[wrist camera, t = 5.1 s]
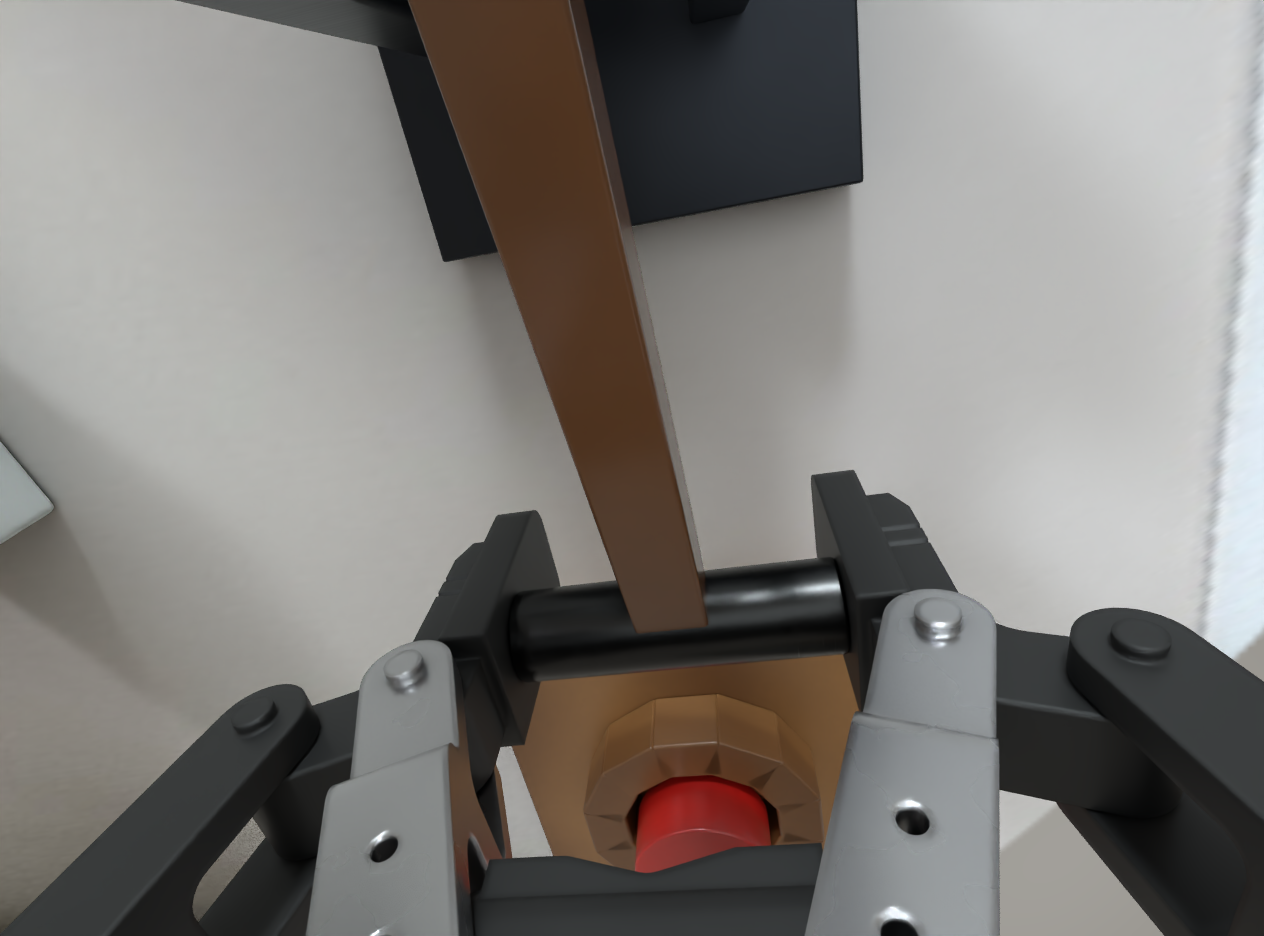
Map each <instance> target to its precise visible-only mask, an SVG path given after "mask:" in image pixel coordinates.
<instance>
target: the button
mask: <svg viewBox="0 0 1264 936" xmlns="http://www.w3.org/2000/svg"><path fill="white" fill-rule="evenodd" d="M768 845H771V839H770V830H769V821H768V812H767V809H766V806H765V804H764V802H763V800H762V799H761V797H760V796H759V795H758V793H757V792H756V791H755V790H753V789H752V788H751V787H750V786H747V785H743V784H740V783H737V782H734V781H730V780H727V779H724V778H720V777H717V776H714V775H701V776H686V777H671V778H669V779H667V780H665V781H663V782H661V783H659V784H657V785H656V786H654V787H652V788H650V789H649V790H648V791H647V792H646V794H645V795H644V797H643V798H642V801H641V803H640V807H639V815H638V829H637V842H636V856H635V871H637V872H642V873H652V872H656V871H660V870H663V869H666V868H670V867H673V866H676V865H679V864H682V863H686V862H689V861H692V860H695V859H699V858H702V857H705V856H708V855H711V854H715V853H718V852H721V851H724V850H728V849H731V848H734V847H748V846H768Z"/></svg>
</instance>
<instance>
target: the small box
mask: <svg viewBox="0 0 1264 936" xmlns="http://www.w3.org/2000/svg"><path fill="white" fill-rule="evenodd" d="M53 508H54V507H53V504H52V503H51V501H50V500H49V499H48V498H47V497H46V495H45V494H44V493H43V492H42V491H41V489H40V488H39V487H38V486H37V485H36V484H35V482H34V481H33V480H32V479H31V478H30V476H29V475H28V474H27V473H26V471H25V470H24V469H23V468H22V467H21V465H20V464H19V463H18V462H17V461H16V460H15V459H14V457H13V456H12V455H11V454H10V452H9V451H8V450H7V449H6V448H5V446H4V445H3V444H2V443H1V441H0V544H2V543H3V542H5V541H7V540H8V539H10V538H11V537H13V536H14V535H16V534H17V533H19V532H20V531H22V530H23V529H25V528H27V527H28V526H30V525H32V524H33V523H35V522H36V521H38V520H40V519H41V518H43V517H44V516H46V515H48V514H49V513H50V512H51V511H52V510H53Z"/></svg>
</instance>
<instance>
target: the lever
mask: <svg viewBox="0 0 1264 936" xmlns="http://www.w3.org/2000/svg"><path fill="white" fill-rule="evenodd" d="M408 2H409V5H410V8H411V11H412V14H413V16H414V19H415V22H416V25H417V27H418V30H419V33H420V36H421V39H422V41H423V44H424V47H425V50H426V52H427V55H428V58H429V61H430V64H431V66H432V69H433V72H434V75H435V77H436V80H437V83H438V86H439V89H440V91H441V94H442V97H443V100H444V102H445V105H446V108H447V111H448V114H449V116H450V119H451V122H452V125H453V127H454V130H455V133H456V136H457V139H458V141H459V144H460V147H461V150H462V152H463V155H464V158H465V161H466V164H467V166H468V169H469V172H470V175H471V177H472V180H473V183H474V186H475V189H476V191H477V194H478V197H479V200H480V202H481V205H482V208H483V211H484V214H485V216H486V219H487V222H488V225H489V227H490V230H491V233H492V236H493V239H494V241H495V244H496V247H497V250H498V252H499V255H500V258H501V261H502V264H503V266H504V269H505V272H506V275H507V277H508V280H509V283H510V286H511V289H512V291H513V294H514V297H515V300H516V302H517V305H518V308H519V311H520V314H521V316H522V319H523V322H524V325H525V327H526V330H527V333H528V336H529V339H530V341H531V344H532V347H533V350H534V352H535V355H536V358H537V361H538V364H539V366H540V369H541V372H542V375H543V377H544V380H545V383H546V386H547V389H548V391H549V394H550V397H551V400H552V402H553V405H554V408H555V411H556V414H557V416H558V419H559V422H560V425H561V427H562V430H563V433H564V436H565V439H566V441H567V444H568V447H569V450H570V452H571V455H572V458H573V461H574V464H575V466H576V469H577V472H578V475H579V477H580V480H581V483H582V486H583V489H584V491H585V494H586V497H587V500H588V502H589V505H590V508H591V511H592V514H593V516H594V519H595V522H596V525H597V527H598V530H599V533H600V536H601V539H602V541H603V544H604V547H605V550H606V552H607V555H608V558H609V561H610V564H611V566H612V569H613V572H614V575H615V577H616V581H607V582H598V583H589V584H580V585H571V586H562V587H553V588H544V589H534V590H525V591H520V592H519V593H517V594H516V595H515V597H514V599H513V601H512V604H511V607H510V613H509V621H508V641H509V650H510V655H511V660H512V664H513V667H514V670H515V672H516V674H517V676H518V677H519V679H520V680H522V681H523V682H526V683H530V682H541V681H552V680H563V679H575V678H586V677H597V676H608V675H619V674H631V673H642V672H653V671H664V670H675V669H687V668H698V667H709V666H720V665H731V664H743V663H754V662H765V661H776V660H787V659H798V658H810V657H821V656H832V655H843V654H847V653H849V650H850V625H849V617H848V610H847V603H846V598H845V592H844V587H843V583H842V579H841V575H840V571H839V568H838V565H837V563H836V561H835V559H834V558H832V557H823V558H814V559H805V560H796V561H787V562H778V563H769V564H760V565H751V566H742V567H733V568H724V569H715V570H706V571H705V570H704V565H703V561H702V556H701V551H700V546H699V542H698V537H697V532H696V528H695V523H694V518H693V513H692V509H691V504H690V499H689V495H688V490H687V485H686V480H685V476H684V471H683V466H682V461H681V457H680V452H679V447H678V443H677V438H676V433H675V428H674V424H673V419H672V414H671V409H670V405H669V400H668V395H667V391H666V386H665V381H664V376H663V372H662V367H661V362H660V357H659V353H658V348H657V343H656V339H655V334H654V329H653V324H652V320H651V315H650V310H649V305H648V301H647V296H646V291H645V287H644V282H643V277H642V272H641V268H640V263H639V258H638V254H637V249H636V244H635V239H634V235H633V230H632V225H631V220H630V216H629V211H628V206H627V202H626V197H625V192H624V187H623V183H622V178H621V173H620V168H619V164H618V159H617V154H616V150H615V145H614V140H613V135H612V131H611V126H610V121H609V116H608V112H607V107H606V102H605V98H604V93H603V88H602V83H601V79H600V74H599V69H598V64H597V60H596V55H595V50H594V46H593V41H592V36H591V31H590V27H589V22H588V17H587V13H586V8H585V3H584V0H408Z"/></svg>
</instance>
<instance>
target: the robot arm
mask: <svg viewBox="0 0 1264 936" xmlns="http://www.w3.org/2000/svg"><path fill="white" fill-rule="evenodd" d="M811 490H812V502H813V514H814V527H815V539H816V551H817V558H823V557H832V558H834V559H835V561H836V563H837V565H838V568H839V571H840V575H841V579H842V583H843V587H844V592H845V598H846V603H847V610H848V617H849V625H850V650H849V653H847V654H843V657H844V660H845V663H846V667H847V670H848V674H849V677H850V681H851V684H852V688H853V691H854V695H855V698H856V702H857V705H858V709H859V711H856V712H855V713H854V715H853V718H852V721H851V725H850V730H849V734H848V739H847V743H846V748H845V753H844V757H843V762H842V766H841V771H840V776H839V780H838V785H837V789H836V794H835V799H834V803H833V808H832V812H831V817H830V821H829V826H828V831H827V835H826V840H825V844H824V849H822V844H821V843H808V844H788V845H768V846H748V847H734V848H731V849H728V850H724V851H721V852H718V853H715V854H711V855H708V856H705V857H702V858H699V859H695V860H692V861H689V862H686V863H682V864H679V865H676V866H673V867H670V868H666V869H663V870H660V871H656V872H652V873H642V872H637V871H632V870H628V869H623V868H619V867H615V866H610V865H606V864H602V863H597V862H593V861H588V860H584V859H580V858H575V857H571V856H548V857H528V858H512V852H511V845H510V838H509V831H508V824H507V817H506V810H505V803H504V796H503V789H502V782H501V777H500V774H499V771H498V769H497V766H496V761H497V757H498V754H499V750H500V747H505V746H518V745H525V741H526V737H527V733H528V730H529V726H530V722H531V718H532V714H533V710H534V706H535V702H536V698H537V695H538V691H539V687H540V683H541V682H530V683H526V682H523V681H522V680H520V679H519V677H518V676H517V674H516V672H515V670H514V667H513V664H512V660H511V655H510V650H509V641H508V621H509V613H510V607H511V604H512V601H513V599H514V597H515V595H516V594H517V593H519V592H520V591H525V590H534V589H544V588H553V587H560V583H559V578H558V574H557V570H556V567H555V563H554V560H553V556H552V553H551V550H550V546H549V543H548V539H547V536H546V532H545V529H544V525H543V522H542V519H541V517H540V515H539V513H538V512H537V511H536V510H532V511H525V512H517V513H509V514H502V515H498V516H496V518H495V520H494V522H493V524H492V526H491V528H490V530H489V532H488V535H487V537H486V539H485V541H484V542H481V543H474V544H473V545H471V546H470V547H469V548H468V549H467V550H466V551H465V552H464V553H463V554H462V555H461V556H460V557H458V558H457V559H456V560H455V562H454V564H453V566H452V568H451V570H450V572H449V574H448V575H447V577H446V582H444V583H443V585H442V587H441V589H440V591H439V593H438V594H439V597H436V598H435V600H434V602H433V604H432V606H431V608H430V610H429V612H428V614H427V616H426V618H425V620H424V622H423V623H422V625H421V627H420V629H419V631H418V633H417V635H416V637H415V639H414V641H413V642H411V643H407V644H405V645H402V646H399V647H397V648H395V649H393V650H391V651H390V652H388V653H387V654H385V655H384V656H382V657H381V658H380V659H378V660H377V661H376V662H375V663H374V664H373V665H372V666H371V667H370V668H369V669H368V670H367V672H366V673H365V675H364V677H363V679H362V681H361V684H360V690H358V691H356V692H353V693H350V694H347V695H344V696H341V697H338V698H335V699H332V700H329V701H326V702H323V703H320V704H317V705H314V706H312V705H311V703H310V701H309V699H308V697H307V695H306V694H305V692H304V690H303V689H302V688H300V687H298V686H296V685H291V684H282V685H276V686H271V687H268V688H265V689H262V690H260V691H257V692H255V693H253V694H251V695H249V696H247V697H246V698H244V699H242V700H241V701H239V702H238V703H236V704H235V705H234V706H232V707H231V708H230V709H228V710H227V711H226V712H225V713H224V714H223V715H222V716H221V717H220V718H219V719H218V720H217V721H216V722H215V723H214V724H213V725H212V726H211V727H210V728H209V729H208V730H207V731H206V732H205V733H204V734H203V735H202V736H201V737H200V738H199V739H197V740H196V741H195V742H194V743H193V744H192V745H191V746H190V747H189V748H188V749H187V750H186V751H185V752H184V753H183V754H182V755H181V756H180V757H179V758H178V759H177V760H176V761H175V762H174V763H173V764H172V765H171V766H170V767H169V768H168V769H167V770H166V771H165V772H164V773H163V774H162V775H161V776H160V777H159V778H158V779H157V780H156V781H155V782H154V783H153V784H152V785H151V786H150V787H149V788H148V789H147V790H146V791H145V792H144V793H143V794H142V795H141V796H140V797H139V798H138V799H137V800H136V801H135V802H134V803H133V804H132V805H131V806H130V807H129V808H128V809H127V810H126V811H124V812H123V813H122V814H121V815H120V816H119V817H118V818H117V819H116V820H115V821H114V822H113V823H112V824H111V825H110V826H109V827H108V828H107V829H106V830H105V831H104V832H103V833H102V834H101V835H100V836H99V837H98V838H97V839H96V840H95V841H94V842H93V843H92V844H91V845H90V846H89V847H88V848H87V849H86V850H85V851H84V852H83V853H82V854H81V855H80V856H79V857H78V858H77V859H76V860H75V861H74V862H73V863H72V864H71V865H70V866H69V867H68V868H67V869H66V870H65V871H64V872H63V873H62V874H61V875H60V876H59V877H58V878H57V879H56V880H55V881H54V882H53V883H51V884H50V885H49V886H48V887H47V888H46V889H45V890H44V891H43V892H42V893H41V894H40V895H39V896H38V897H37V898H36V899H35V900H34V901H33V902H32V903H31V904H30V905H29V906H28V907H27V908H26V909H25V910H24V911H23V912H22V913H21V914H20V915H19V916H18V917H17V918H16V919H15V920H14V921H13V922H12V923H11V924H10V925H9V926H8V927H7V928H6V929H5V930H4V931H3V932H2V933H1V934H0V936H1000V899H999V898H1000V890H999V889H1000V887H999V885H1000V878H999V877H1000V875H999V874H1000V871H999V790H1003V791H1008V792H1012V793H1017V794H1022V795H1027V796H1031V797H1036V798H1041V799H1045V800H1050V801H1055V802H1056V803H1057V805H1058V806H1059V808H1060V809H1061V810H1062V812H1063V813H1064V814H1065V815H1066V817H1067V818H1068V819H1069V820H1070V822H1071V823H1072V824H1073V825H1074V826H1075V828H1076V829H1077V830H1078V831H1079V833H1080V834H1081V835H1082V836H1083V837H1084V839H1085V840H1086V841H1087V842H1088V843H1089V845H1090V846H1091V847H1092V848H1093V850H1094V851H1095V852H1096V853H1097V854H1098V856H1099V857H1100V858H1101V859H1102V860H1103V862H1104V863H1105V864H1106V865H1107V866H1108V868H1109V869H1110V870H1111V871H1112V873H1113V874H1114V875H1115V876H1116V877H1117V879H1118V880H1119V881H1120V882H1121V884H1122V885H1123V886H1124V887H1125V888H1126V890H1128V892H1129V893H1130V895H1131V896H1132V897H1133V898H1134V899H1135V901H1136V902H1137V903H1138V904H1139V905H1140V907H1141V908H1142V909H1143V910H1144V912H1145V913H1146V914H1147V915H1148V916H1149V918H1150V919H1151V920H1152V921H1153V922H1154V923H1155V925H1156V926H1157V927H1158V929H1159V930H1160V931H1161V932H1162V933H1163V935H1164V936H1264V682H1263V681H1262V680H1261V679H1259V678H1258V677H1256V676H1255V675H1254V674H1252V673H1251V672H1249V671H1248V670H1246V669H1245V668H1244V667H1242V666H1241V665H1239V664H1238V663H1237V662H1235V661H1234V660H1232V659H1231V658H1230V657H1228V656H1227V655H1225V654H1224V653H1223V652H1221V651H1220V650H1218V649H1217V648H1216V647H1214V646H1213V645H1211V644H1210V643H1209V642H1207V641H1206V640H1204V639H1203V638H1202V637H1200V636H1199V635H1197V634H1196V633H1195V632H1193V631H1192V630H1190V629H1188V628H1187V627H1185V626H1184V625H1182V624H1180V623H1178V622H1176V621H1174V620H1172V619H1169V618H1166V617H1164V616H1161V615H1158V614H1155V613H1151V612H1147V611H1142V610H1137V609H1129V608H1105V609H1099V610H1094V611H1091V612H1088V613H1086V614H1084V615H1082V616H1081V617H1079V618H1078V619H1077V620H1076V621H1075V622H1074V624H1073V625H1072V627H1071V632H1070V637H1068V636H1059V635H1051V634H1043V633H1035V632H1027V631H1021V630H1016V629H1012V628H1008V627H1005V626H1002V625H999V624H996V623H995V620H994V618H993V616H992V615H991V613H990V612H989V611H988V610H987V609H986V608H985V607H984V606H983V605H982V604H980V603H979V602H977V601H976V600H974V599H972V598H970V597H968V596H965V595H963V594H960V593H958V591H957V589H956V588H955V586H954V584H953V582H952V580H951V579H950V577H949V575H948V573H947V572H946V570H945V568H944V566H943V565H942V563H941V561H940V559H939V558H938V556H937V554H936V552H935V551H934V549H933V547H932V545H931V543H928V538H927V536H926V535H925V533H924V531H923V529H922V528H920V524H919V522H918V521H917V519H916V517H915V515H914V514H913V512H912V510H911V508H910V507H909V506H908V505H906V504H905V503H903V502H902V501H900V500H899V499H897V498H896V497H894V496H893V495H891V494H889V493H884V494H876V495H867V496H866V494H865V492H864V490H863V488H862V486H861V484H860V481H859V479H858V477H857V475H856V473H855V471H854V470H847V471H839V472H832V473H824V474H816V475H812V476H811ZM252 817H253V819H254V820H255V822H256V823H257V825H258V826H259V828H260V829H261V831H262V832H263V834H264V835H265V837H266V838H265V839H264V840H263V841H262V843H261V844H260V845H259V846H258V848H257V849H256V850H255V851H254V853H253V854H252V855H251V857H250V858H249V859H248V860H247V862H246V863H245V864H244V865H243V867H242V868H241V869H240V870H239V872H238V873H237V874H236V875H235V877H234V878H233V879H232V880H231V882H230V883H229V884H228V885H227V887H226V888H225V889H224V891H223V892H222V893H221V894H220V896H219V897H218V898H217V899H216V901H215V902H214V903H213V904H212V906H211V907H210V908H209V909H208V911H207V912H206V913H205V914H204V916H203V917H202V918H201V920H200V921H199V922H197V920H196V919H195V917H194V914H193V908H192V905H193V898H194V894H195V891H196V889H197V886H198V884H199V882H200V881H201V879H202V877H203V876H204V875H205V873H206V872H207V871H208V870H209V868H210V867H211V866H212V865H213V864H214V862H215V861H216V860H217V859H218V858H219V856H220V855H221V854H222V853H223V852H224V850H225V849H226V848H227V847H228V846H229V844H230V843H231V842H232V841H233V840H234V838H235V837H236V836H237V835H238V834H239V832H240V831H241V830H242V829H243V828H244V826H245V825H246V824H247V823H248V822H249V820H250V819H251V818H252Z"/></svg>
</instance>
